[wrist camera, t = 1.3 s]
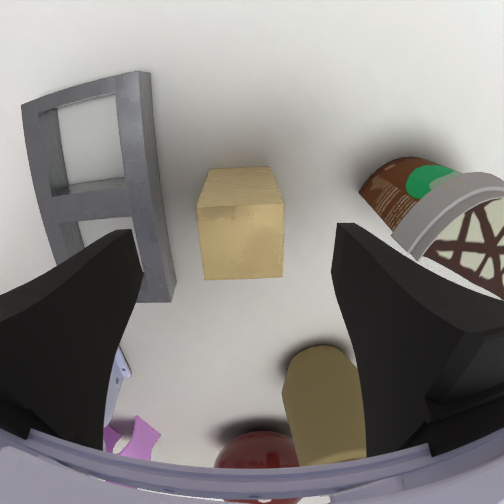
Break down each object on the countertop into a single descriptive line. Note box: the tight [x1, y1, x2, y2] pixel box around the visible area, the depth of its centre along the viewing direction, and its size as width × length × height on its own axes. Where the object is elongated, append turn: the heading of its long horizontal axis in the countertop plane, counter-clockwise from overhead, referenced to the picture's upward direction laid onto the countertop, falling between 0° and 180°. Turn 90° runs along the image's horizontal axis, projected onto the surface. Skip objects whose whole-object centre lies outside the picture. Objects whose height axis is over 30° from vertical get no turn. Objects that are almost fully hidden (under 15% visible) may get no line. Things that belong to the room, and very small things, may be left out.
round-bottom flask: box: [214, 431, 303, 504], centre depth 29 cm, size 13×13×20 cm
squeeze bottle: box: [282, 345, 366, 497], centre depth 22 cm, size 8×8×18 cm
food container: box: [359, 157, 504, 301], centre depth 16 cm, size 12×6×10 cm, turn 67°
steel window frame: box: [21, 71, 176, 303], centre depth 19 cm, size 16×9×2 cm, turn 1°
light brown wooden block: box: [196, 167, 284, 280], centre depth 18 cm, size 4×4×7 cm
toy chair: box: [103, 416, 161, 489], centre depth 31 cm, size 8×9×15 cm
